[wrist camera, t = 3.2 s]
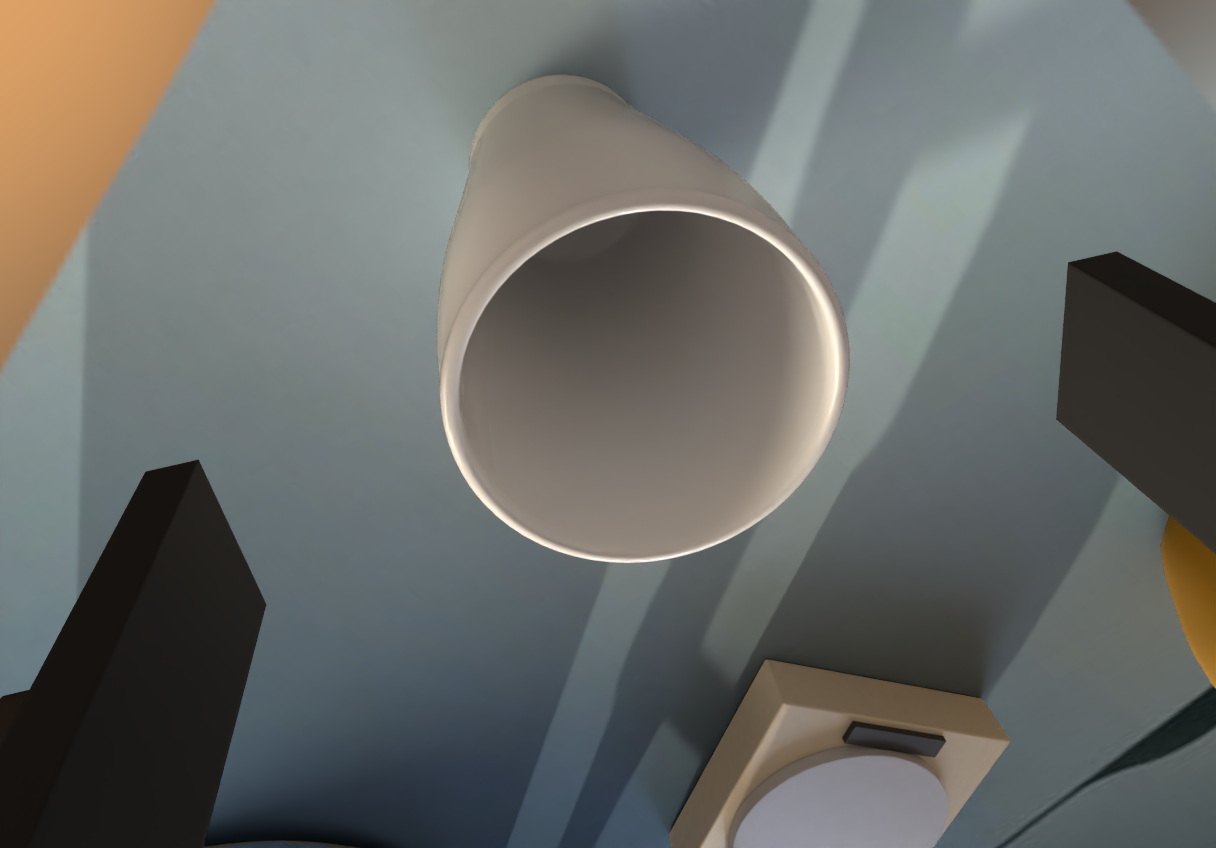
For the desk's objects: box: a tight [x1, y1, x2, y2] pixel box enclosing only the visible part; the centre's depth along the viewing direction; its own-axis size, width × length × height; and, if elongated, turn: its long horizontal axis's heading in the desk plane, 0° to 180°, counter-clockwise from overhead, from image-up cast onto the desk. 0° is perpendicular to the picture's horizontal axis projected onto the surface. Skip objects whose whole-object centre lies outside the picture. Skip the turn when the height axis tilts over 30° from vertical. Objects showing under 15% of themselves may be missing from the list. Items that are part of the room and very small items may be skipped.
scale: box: [669, 659, 1010, 848], centre depth 41 cm, size 11×11×3 cm
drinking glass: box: [437, 75, 850, 563], centre depth 21 cm, size 7×7×15 cm
